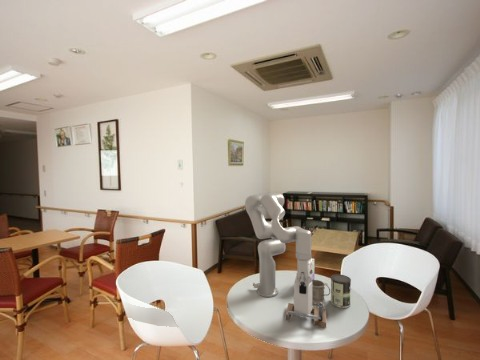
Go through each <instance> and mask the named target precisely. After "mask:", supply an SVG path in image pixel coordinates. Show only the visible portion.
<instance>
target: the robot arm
mask: <svg viewBox="0 0 480 360" xmlns="http://www.w3.org/2000/svg"><path fill="white" fill-rule="evenodd" d="M244 205H245V210H246V213H247V215H248V216H249V219H250V221H251V224H252V227H253V231H254V233H255V236H256V238H257V239H259V240H262V241H260V242H259V243H258V245H257V251H258V252H257V253H258V258H259V259H258V260H259V282H258V283H257V282H252V286H253V288H254V289H256V292H257V294H258V295H259V296H261V297H266V298H271V297H275V296H277V295H278V294H279V290H278V288H277V287H276V272H277V271H276V269H277V268H276V261H275V260H274V257H273V256H277V255H281V254H283V253H285V252H286V249H287V246H286V245H287V244H289V243H293V242H295V258H296V260H297V267H296V268H297V272H296V275H297V279H300V285H299V293H300V294H306V280H307V278H308V270H309V260H311V258H312V232H311V231H310V230H308V229H304V228H302V227H301V226H298V225H297V226H295V225H294V226H289V227H288V226H287V227H283V226H282V225H281V223H280V220H282V219H283V218H284V216H285V214H286V211H285V209H284V208H283V206H284V205H285V197H284V195H282V194H281V193H280V192H275V193H262V194H252V195H249V196H247V197H246V199H245V201H244ZM259 209H264V210H265V211H266V213H267V214H268V215H269V217H270V218H271V221H267V220H266V218H265V216H264V213H263V212H261V210H259ZM264 239H266V240H264ZM304 278H305V279H304ZM304 281H305V283H304Z"/></svg>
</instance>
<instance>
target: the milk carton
mask: <svg viewBox="0 0 480 360" xmlns="http://www.w3.org/2000/svg"><path fill="white" fill-rule="evenodd" d="M294 279H295V280H294V283H293V287H294V288H293V304H294V310H293V312H298V313H304V314H310V315H311V314H312V313H311V311H312V307H313V303H312V280H311V276H308V278H307V280H306V294H300V293H299V285H300V279H297V274H296V276H295V278H294ZM304 279H305V278H304ZM304 283H305V281H304Z"/></svg>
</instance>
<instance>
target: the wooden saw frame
mask: <svg viewBox="0 0 480 360" xmlns="http://www.w3.org/2000/svg"><path fill="white" fill-rule="evenodd" d="M288 311H292V312H294V303H291V302H288V303H287V308H286V311H285V321H287V313H288ZM310 314H312V315H316V316H319V306H318V307H316V306H312V311H311V313H310ZM292 317H293V315H291V314H290V315H289V321H287V322H291V321H292ZM313 326H314V327H320V328H325V329H326V328H327V309H326V308H325V307H323V320H322V321H320V320H319V319H315V318H313Z"/></svg>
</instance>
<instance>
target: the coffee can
mask: <svg viewBox="0 0 480 360" xmlns="http://www.w3.org/2000/svg"><path fill="white" fill-rule="evenodd" d="M351 283H352V279H351V277H349V276H348V275H344V274H340V273H339V274H337V273H335V274H332V275H331V276H330V303H331V304H332V306H335V307H337V308H341V309H343V308H344V309H346V308H347V309H348V308H349V307H350V306H351V290H352V289H351Z"/></svg>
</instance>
